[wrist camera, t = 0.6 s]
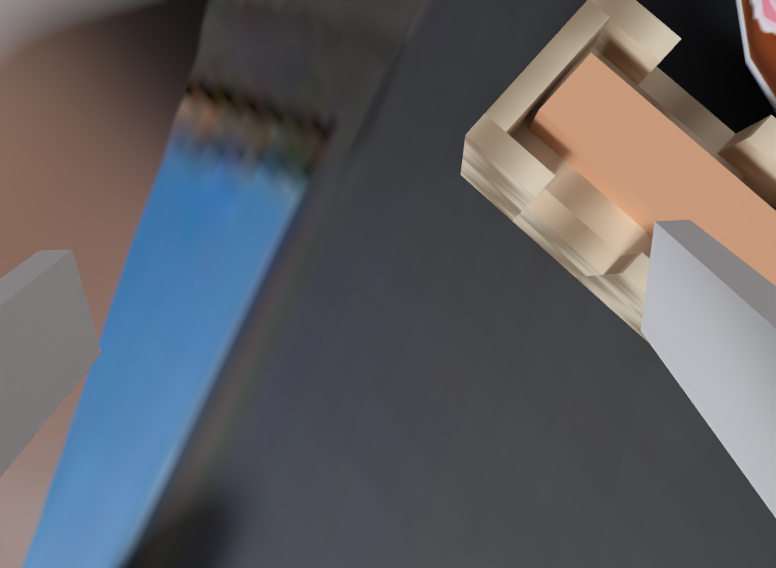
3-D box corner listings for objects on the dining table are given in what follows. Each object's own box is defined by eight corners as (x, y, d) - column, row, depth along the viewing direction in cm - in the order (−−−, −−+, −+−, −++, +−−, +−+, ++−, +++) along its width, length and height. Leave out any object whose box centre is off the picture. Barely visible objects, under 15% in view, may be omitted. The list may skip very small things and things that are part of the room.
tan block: (842, 308, 36) (892, 310, 32) (792, 359, 36) (835, 368, 32) (575, 77, 37) (591, 52, 33) (528, 128, 37) (538, 109, 33)
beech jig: (828, 286, 43) (975, 286, 31) (715, 402, 44) (816, 446, 32) (565, 59, 45) (608, -23, 33) (460, 174, 46) (465, 134, 34)
